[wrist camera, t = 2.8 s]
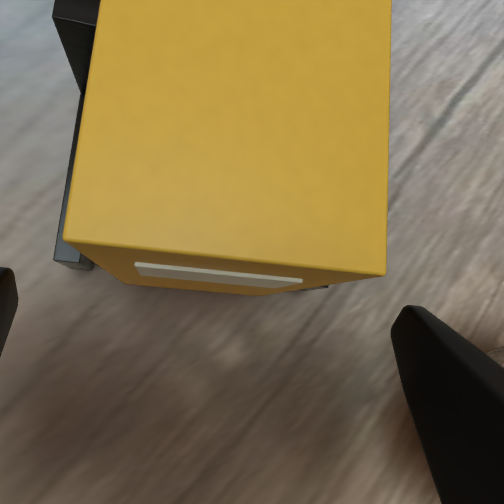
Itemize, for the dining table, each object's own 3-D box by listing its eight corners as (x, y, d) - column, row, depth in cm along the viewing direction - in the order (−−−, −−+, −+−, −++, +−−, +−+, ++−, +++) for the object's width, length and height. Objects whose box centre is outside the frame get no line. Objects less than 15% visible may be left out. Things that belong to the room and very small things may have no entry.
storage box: (259, 298, 20) (387, 281, 9) (123, 286, 19) (59, 246, 7) (269, 159, 22) (393, -16, 10) (142, 138, 20) (114, -94, 9)
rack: (305, 290, 21) (381, 280, 14) (70, 268, 18) (10, 240, 11) (313, 142, 22) (386, 60, 15) (95, 103, 20) (57, -16, 13)
